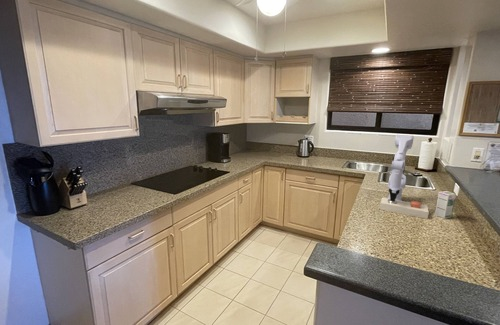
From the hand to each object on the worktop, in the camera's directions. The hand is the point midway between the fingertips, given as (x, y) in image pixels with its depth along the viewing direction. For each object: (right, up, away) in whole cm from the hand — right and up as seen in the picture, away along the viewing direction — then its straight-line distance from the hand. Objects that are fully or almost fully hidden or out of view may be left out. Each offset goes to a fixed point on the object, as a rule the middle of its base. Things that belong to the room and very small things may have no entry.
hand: (392, 201), depth 151 cm
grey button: (0, -4, +1) cm, 5 cm away
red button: (+10, -4, -6) cm, 12 cm away
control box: (+5, -5, -2) cm, 8 cm away
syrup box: (+24, -8, -9) cm, 27 cm away
